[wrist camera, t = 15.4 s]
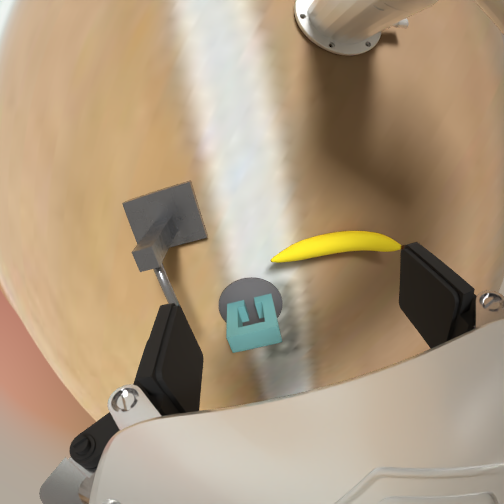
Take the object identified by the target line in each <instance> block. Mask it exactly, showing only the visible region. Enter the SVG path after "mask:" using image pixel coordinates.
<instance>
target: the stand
mask: <svg viewBox="0 0 504 504" xmlns="http://www.w3.org/2000/svg"><path fill="white" fill-rule="evenodd" d="M122 204H123V207H124V210H125V212H126V215H127V218H128V220H129V223H130V226H131V228H132V231H133V234H134V236H135V239H136V241H137V246H136V247H135V248H134V250H133V251H132V254H133V256H134V259H135V261H136V264H137V266H138V268H139V270H140V272H142V271H146V270H150V269H154V272H155V274H156V276H157V279H158V281H159V283H160V286H161V288H162V290H163V292H164V295H165V297H166V299H167V301H168V303H169V304H170V303H175V304H176V306H178V305H179V306H180V304H179V302H178V300H177V297H176V295H175V293H174V291H173V288H172V286H171V284H170V281H169V279H168V276H167V274H166V272H165V269H164V267H163V264H162V261H163V259H164V257H165V255H166V253H167V251H168V249H169V247H173V246H177V245H181V244H185V243H188V242H192V241H196V240H200V239H204V238H207V232H206V229H205V225H204V222H203V219H202V216H201V213H200V209H199V206H198V203H197V199H196V196H195V193H194V190H193V186H192V183H191V180H190V181H187V182H184V183H180V184H177V185H174V186H171V187H167V188H164V189H161V190H158V191H155V192H152V193H149V194H146V195H143V196H140V197H137V198H134V199H131V200H128V201H125V202H124V203H122Z"/></svg>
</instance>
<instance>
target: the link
mask: <svg viewBox="0 0 504 504" xmlns="http://www.w3.org/2000/svg"><path fill="white" fill-rule="evenodd" d="M254 301H255V306H256V309H257V312H258V316H259V319H260V318H265V322H261V323H256V324H252V325H248V326H243V323H242V322H247V321H249V314H248V311H247V308H246V305H245V302H244V300H242V301H237V302H233V303H229V304H227V340H228V342H229V345H230V347H231V350H232V352H233V353H235V352H240V351H244V350H249V349H254V348H258V347H263V346H267V345H272V344H276V343H280V342H282V338H281V334H280V329H279V324H278V320H277V315H276V311H275V306H274V302H273V299H272V295H271V294H267V295H263V296H259V297H254Z"/></svg>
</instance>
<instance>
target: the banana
mask: <svg viewBox="0 0 504 504" xmlns="http://www.w3.org/2000/svg"><path fill="white" fill-rule="evenodd" d="M404 246H405V245H403V246H401V245H400V244H399V243H397V242H396V241H395V240H393V239H391V238H390V237H387V236H385V235H382V234H379V233H375V232H368V231H340V232H333V233H327V234H323V235H318V236H315V237H311V238H308V239H305V240H301V241H299V242H297V243H295V244H293V245H291V246H289V247H288V248H286V249H284V250H283V251H281V252H280V253H279V254H277V255H276V256H274V257H273V258H272V259H271V262H277V263H280V262H291V261H298V260H303V259H308V258H313V257H318V256H323V255H329V254H334V253H341V252H348V251H359V250H370V251H382V252H390V251H396V250H399V249H402V250H403V248H404Z"/></svg>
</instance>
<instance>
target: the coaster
mask: <svg viewBox="0 0 504 504" xmlns="http://www.w3.org/2000/svg"><path fill="white" fill-rule="evenodd" d="M267 294H271V295H272V299H273V302H274V306H275V311H276V315H277V318H278V316H279V315H280V313H281V310H282V298H281V295H280V293H279V291H278V289H277V288H276V287H275V286H274V285H273V284H271V283H270V282H268V281H266V280H263V279H260V278H244V279H240V280H237V281H235V282H233V283H231V284H230V285H229V286H227V287H226V288H225V290H224V291H223V292H222V294H221V296H220V299H219V311H220V314H221V316H222V318H223V319H224V320H225V322H226V323H227V304H229V303H233V302H237V301H242V300H244V302H245V305H246V308H247V311H248V314H249V321H247V322H242V323H243V326H248V325H252V324H256V323H261V322H265V318H260V319H259V316H258V312H257V309H256V306H255V301H254V297H259V296H263V295H267Z"/></svg>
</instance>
